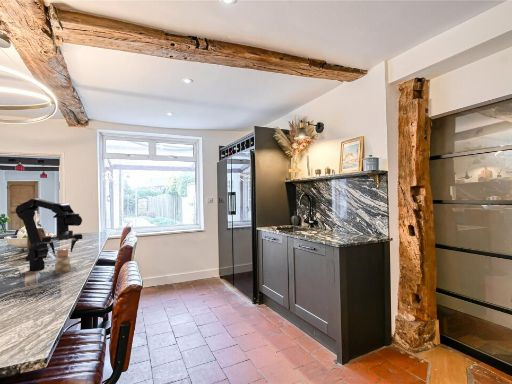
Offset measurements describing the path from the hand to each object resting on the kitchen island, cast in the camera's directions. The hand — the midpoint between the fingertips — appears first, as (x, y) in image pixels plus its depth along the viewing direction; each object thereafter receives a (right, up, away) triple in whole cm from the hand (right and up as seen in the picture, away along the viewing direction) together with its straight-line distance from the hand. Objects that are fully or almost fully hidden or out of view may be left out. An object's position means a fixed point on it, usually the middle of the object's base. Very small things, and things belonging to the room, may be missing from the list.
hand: (62, 253), depth 161 cm
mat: (0, -11, 0) cm, 10 cm away
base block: (0, -10, 0) cm, 10 cm away
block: (-48, -11, +43) cm, 65 cm away
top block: (0, -6, 0) cm, 6 cm away
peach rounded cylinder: (0, -2, 0) cm, 2 cm away
